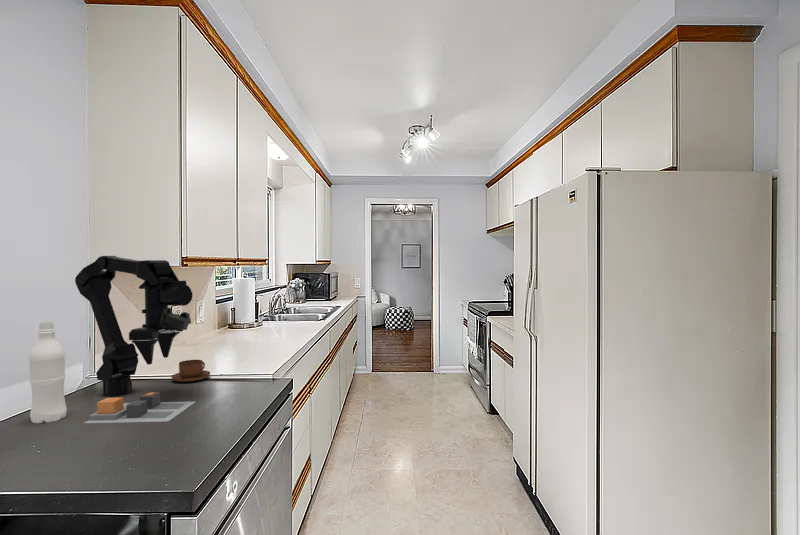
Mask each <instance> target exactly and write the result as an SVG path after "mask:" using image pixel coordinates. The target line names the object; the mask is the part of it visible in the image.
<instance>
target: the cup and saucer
mask: <svg viewBox="0 0 800 535" xmlns="http://www.w3.org/2000/svg"><path fill="white" fill-rule="evenodd" d="M205 367H206V364H205V362H204V361H203V360H202V359H187V360H183V361H180V362H179V363H178V371H179V372H177V373H174V374H172V375H171V379H172V380H173V381H175V382H179V383H189V382H190V383H191V382H198V381H202V380H204V379H207V378H208V377H210V375H211V371H209V370H205Z"/></svg>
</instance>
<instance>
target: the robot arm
mask: <svg viewBox="0 0 800 535" xmlns="http://www.w3.org/2000/svg"><path fill="white" fill-rule="evenodd" d="M116 272H120V273H125V274H126V273H127V274H131V275H134V276H135V277H136V278H138V279H140V280H141V281H143V282H142V283H141V284H140V285H139V286H138V289H139V290H142V289H143V290H144V309H141V313H142V314H145V315H144V316H145V323H144V324H142V326H141V327H136V328H133V329H131V330H130V331H129V332H128V341H131V343H128V342H127V341H126V340H125V339H124V337H123V333H122V330H121V327H120V325H119V322H118V319H117V317H116V314H115V310H114V307H113V304H112V301H111V299H110V293H111V290H112V287H113V286H112V281H113V280H114V279H115V278H116ZM74 283H75V286H76V287H77V290H78V292H79V294H80V295H81V296H82V297H84V299H86V300H87V301H88V302H89V303H90V306H91V309H92V314H93V316H94V317H95V318H94V319H95V321H96V324H97V327H98V331H99V333H100V335H101V338H102V341H103V342H102V343H103V344H104V350H103V353H102V355H101V359H102V364H101V366H100V367H99V369H98V370H97V371H96V372H95V375H96V378H97V381H102V395H103V396H106V397H119V396H125V395H129V394H131V393H133V381H132V380H131V376H134V375H136V371H137V368H138V365H139V364H138V363H139V358H138V357H139V356H140V355H139V353H140V354H141V356H142V358H143V360H144V361H145V363H146V365H148V366H149V365H152V364H153V359H154V349H155V345H156V343H158V344H159V349H160V352H161V355H162V357H163V358H164V359H166V358H169V354H170V351H171V347H172V344H173V341H174V338H176V337H177V336H178V335H179V334H180V333H181V332H182V333H183V331H187V330H188V326H189V325H190V324H191V323H192V319H191V315H190V312H186V311H183V312H181V313H179V314H176V313H174V312H173V309H172V307H169V306H180V307H183V306H184V307H185V306H188V305H189V304H190V303H191V301H192V299H193V295H194V294H193V291H192V288H191V287H190V286H189V285H188V284H187V281H186V280H179V278H178V276H177V275H176V273H175V271H174V270H173V268H172V266H171V265H170V262H169V261H168V260H165V259H163V260H162V259H157V260H156V259H155V260H154V259H153V260H150V259H148V260H139V259H138V260H137V259H133V258H132V259H131V258H127V257H126V258H125V257H119V256H116V255H101V256H99V257H97V259H95V261H94V262H92V263H90V264H88V265H86V266H84V267H83V268H82V269H81V271H79V272H78V274H77V275H76V277H75V280H74ZM136 348H137V350H138V351H139V353H138V352H137V350H136Z"/></svg>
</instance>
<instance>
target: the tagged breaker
mask: <svg viewBox="0 0 800 535" xmlns="http://www.w3.org/2000/svg"><path fill="white" fill-rule="evenodd" d="M140 401H147V408H154V407H155V406H157V405H159V404H160V402H161V392H155V391H154V392H153V391H151V392H147V393H146V394H144V395H141V396H140Z"/></svg>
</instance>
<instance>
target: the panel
mask: <svg viewBox="0 0 800 535" xmlns="http://www.w3.org/2000/svg"><path fill="white" fill-rule="evenodd" d="M195 403H196V401H160V404H159V405H157V406H155V407H154V408H147V401H141V400H134V401H132V402H123V408H124V409H122V410H121V411H119V412H117V413H115V414H98V410H97V411H95V412H94V413H92V414H89V415H88V419H89V420H86V421H84V424H107V423H109V424H112V423H156V422H157V423H158V422H159V423H160V422H166V423H167V422H170V421H171V420H172V419H174V418H175V417H177V416H178V415H179V414H181V413H183V412H184V411H186V409H189V407H191V406H192V405H194V404H195Z"/></svg>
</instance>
